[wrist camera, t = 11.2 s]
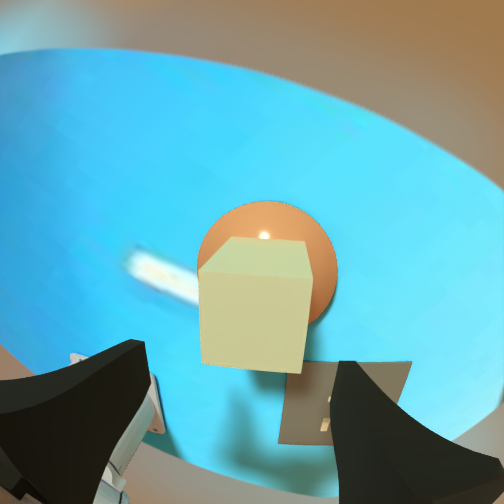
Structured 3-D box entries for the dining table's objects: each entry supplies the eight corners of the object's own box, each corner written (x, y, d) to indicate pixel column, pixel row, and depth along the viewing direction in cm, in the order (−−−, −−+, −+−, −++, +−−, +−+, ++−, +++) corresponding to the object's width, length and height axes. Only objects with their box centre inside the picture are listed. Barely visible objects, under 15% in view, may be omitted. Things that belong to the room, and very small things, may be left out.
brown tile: (278, 442, 24) (277, 443, 24) (288, 360, 21) (288, 361, 21) (379, 441, 23) (379, 443, 22) (411, 361, 20) (412, 362, 20)
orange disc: (202, 323, 21) (198, 329, 21) (201, 198, 19) (196, 199, 18) (326, 333, 20) (328, 340, 20) (341, 205, 18) (344, 206, 17)
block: (230, 303, 20) (201, 363, 13) (231, 236, 19) (198, 270, 12) (298, 309, 19) (300, 373, 12) (304, 241, 18) (312, 279, 11)
